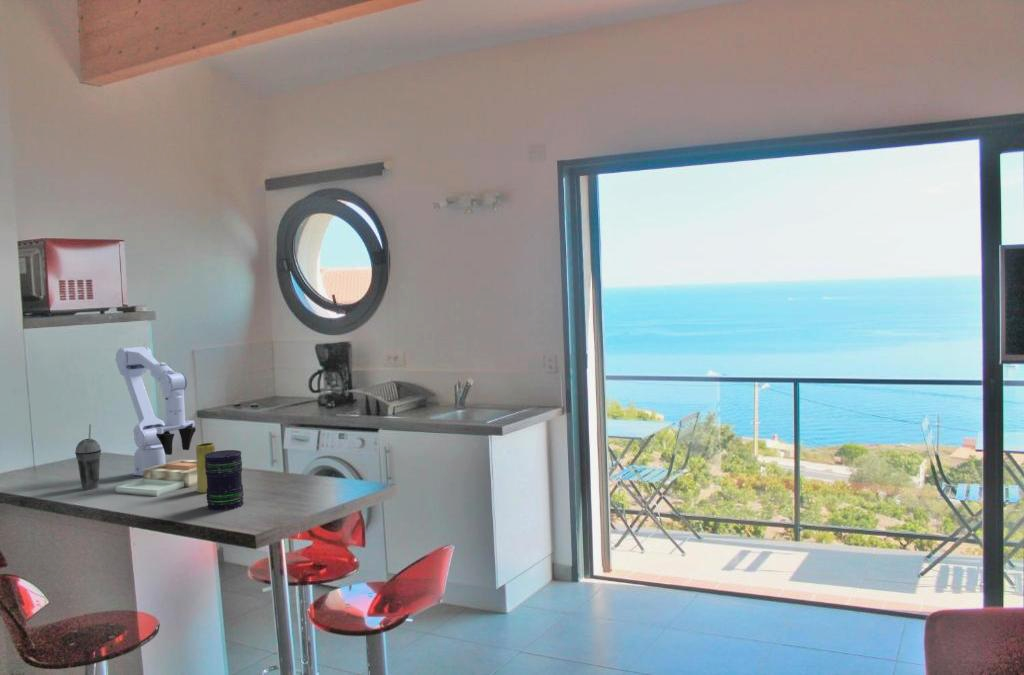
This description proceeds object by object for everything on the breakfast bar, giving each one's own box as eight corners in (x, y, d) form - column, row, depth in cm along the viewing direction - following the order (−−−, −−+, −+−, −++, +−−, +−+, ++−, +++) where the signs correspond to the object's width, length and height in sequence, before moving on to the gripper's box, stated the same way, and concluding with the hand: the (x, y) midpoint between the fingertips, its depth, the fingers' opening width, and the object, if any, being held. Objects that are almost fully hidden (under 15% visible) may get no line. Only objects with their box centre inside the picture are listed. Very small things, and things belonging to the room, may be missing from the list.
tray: (116, 492, 243) (116, 486, 243) (144, 484, 253) (144, 478, 253) (156, 496, 237) (156, 490, 237) (184, 487, 247) (183, 481, 247)
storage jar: (201, 506, 224) (198, 454, 223) (234, 499, 231) (231, 448, 230) (216, 513, 217) (213, 458, 216) (250, 505, 223) (247, 453, 223)
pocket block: (143, 483, 254) (142, 469, 254) (180, 472, 269) (180, 459, 268) (189, 487, 247) (188, 472, 247) (224, 475, 262) (224, 461, 262)
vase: (210, 493, 239) (208, 446, 238) (192, 492, 240) (190, 446, 239) (222, 488, 244) (219, 442, 244) (204, 487, 246) (202, 442, 245)
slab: (165, 473, 258) (165, 464, 258) (173, 471, 262) (173, 462, 261) (189, 475, 255) (189, 466, 255) (197, 472, 258) (197, 463, 258)
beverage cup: (72, 489, 248) (68, 426, 247) (93, 484, 255) (90, 422, 254) (86, 491, 245) (83, 427, 244) (108, 486, 251) (104, 423, 250)
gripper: (167, 414, 249) (170, 457, 250) (201, 407, 263) (203, 448, 264) (150, 413, 252) (152, 456, 253) (184, 407, 265) (186, 447, 266)
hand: (177, 452), depth 258 cm, fingers open, 7 cm apart
